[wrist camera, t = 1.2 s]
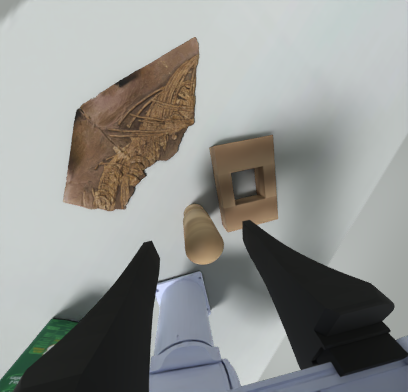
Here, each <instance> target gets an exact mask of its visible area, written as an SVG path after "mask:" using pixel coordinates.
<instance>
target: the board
mask: <svg viewBox="0 0 408 392" xmlns="http://www.w3.org/2000/svg"><path fill="white" fill-rule="evenodd" d="M209 149H210V155H211V160H212V166H213V172H214V178H215V184H216V189H217V195H218V201H219V207H220V213H221V219H222V224H223V226H224V228H225V229H226V231H227V232H231V231H235V230H239V229H242V221H246V220H251V221H252V222H253V223H255V224H256V225H257V224H261V223H265V222H269V221H272V220H276V219H278V210H277V194H276V177H275V161H274V144H273V135H269V136H264V137H259V138H253V139H248V140H243V141H238V142H232V143H227V144H222V145H216V146H213V147H210V148H209ZM252 168H254V172H255V182H256V193H257V195H253V196H249V197H244V198H240V199H236V200H235V199H234V192H233V185H232V178H231V173H233V172H238V171H243V170H247V169H252Z"/></svg>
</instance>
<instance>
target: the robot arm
mask: <svg viewBox="0 0 408 392" xmlns="http://www.w3.org/2000/svg"><path fill="white" fill-rule="evenodd" d="M242 229H243V242H244V244H245V246H246V249H247V251H248V253H249V255H250V257H251V259H252V260H253V262H254V264H255V266H256V268H257V269H258V271H259V273H260V275H261V277H262V278H263V280H264V282H265V284H266V287H267V289H268V291H269V293H270V296H271V298H272V300H273V302H274V305H275V307H276V309H277V312H278V314H279V317H280V319H281V321H282V324H283V326H284V329H285V331H286V334H287V336H288V339H289V341H290V344H291V346H292V349H293V352H294V354H295V357H296V359H297V362H298V364H299V367H300V369H301V370H300V371H296V372H292V373H289V374H285V375H281V376H278V377H274V378H270V379H267V380H263V381H259V382H256V383H252V384H248V385H245V386H241V385H240V381H239V378H238V376H237V373H236V371H235V369H234V368H233V366H232V365H231V364H230V362H229V361H228V360H227V359H221V356H220V351H219V347H214V343H213V338H212V333H211V328H210V322H209V317H208V315H210V314H211V311H210V306H209V302H208V298H207V294H206V290H205V285H204V281H203V277H202V273H201V272H200V271H198V272H195V273H191V274H188V275H185V276H181V277H178V278H174V279H171V280H168V281H164V282H161V283H158V277H159V268H160V257H159V255H158V253H157V251H156V249H155V247H154V244H153V242H152V241H149V242H144V243H143V245H142V246H141V247H140V249H139V250H138V252H137V253H136V255H135V256H134V258H133V259H132V261H131V262H130V263H129V265H128V266H127V268H126V269H125V270H124V272H123V273H122V274H121V276H120V277H119V278H118V280H117V281H116V282H115V283H114V285H113V286H112V287H111V288H110V289H109V291H108V292H107V293H106V294H105V295H104V296H103V297H102V299H101V300H100V301H99V302H98V303H97V304H96V305H95V306H94V307H93V308H92V309H91V310H90V311H89V312H88V313H87V314H86V316H85V317H84V318H83V319H82V320H81V321H80V322H79V323H78V324H76V325H75V326H74V327H73V328H72V329H71V330H70V331H69V332H68V333H67V334H66V335H65V336H64V337H63V338H62V339H61V340H60V341H58V342H57V343H56V344H55V345H54V346H53V347H52V348H51V349H49V350H48V351H47V352H46V353H45V354H44V355H43V356H41V357H40V358H39V359H38V360H37V361H36V362H35V363H33V364H32V365H31V366H30V367H29V368H27V369H26V371H25V372H24V374H23V375H22V377H21V379H20V380H19V382H18V384H17V385H16V387H15V388H14V390H13V392H408V336H404V337H402V338H399V339H397V340H395V339H394V338H393V337H392V336H391V335H390V334H389V332H390V329H389V328H388V327H387V326H386V325H385V324H384V323H383V322H382V321H383V320H384V319H385V318H386V317H387V316H388V315H389V314H390V313H391V312H392V311H393V310H394V303H393V302H392V301H391V300H390V299H388V298H387V297H386V296H385V295H384V294H383V293H381V292H380V291H379V290H378V289H377V288H376V287H375V286H373V285H372V284H371V283H368V282H365V281H363V280H360V279H358V278H355V277H352V276H349V275H347V274H344V273H341V272H339V271H337V270H334V269H331V268H329V267H327V266H325V265H323V264H320V263H318V262H316V261H314V260H312V259H310V258H308V257H306V256H304V255H302V254H300V253H298V252H296V251H295V250H293V249H291V248H289V247H288V246H286V245H284V244H283V243H281V242H280V241H278V240H277V239H275V238H274V237H272V236H271V235H269V234H268V233H267V232H265V231H264V230H263V229H261V228H260V227H259V226H257V225H256V224H255V223H253V222H252V221H251V220H246V221H242ZM156 289H158V290H156ZM155 295H156V298H157V301H158V303H159V306H160V310H159V318H158V326H157V334H156V341H155V349H154V356H152V357H151V363H150V345H151V329H152V316H153V307H154V300H155ZM149 370H150V371H149Z"/></svg>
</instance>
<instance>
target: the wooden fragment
mask: <svg viewBox="0 0 408 392" xmlns="http://www.w3.org/2000/svg"><path fill="white" fill-rule="evenodd" d="M198 59H199V45H198V42H197V39H196V37H194V38H192V39H190V40H189V41H187V42H185V43H184V44H182V45H180V46H178V47H176V48H175V49H173V50H171V51H170V52H168V53H166V54H165V55H163V56H161V57H160V58H158V59H157V60H155V61H153V62H152V63H150V64H148V65H146V66H145V67H143V68H141V69H139V70H137V71H135V72H133V73H132V74H130V75H129V76H127V77H125V78H123V79H122V80H120V81H119V82H117V83H115V84H114V85H112V86H110V87H109V88H108V89H106V90H105V91H103V92H101V93H100V94H98V96H96V98H93V99H92V98H91V99H90V100H89V101H87V102H86V103H84V104H83V105H82V106H81V107H80V108H81V111H80V108H79V109H77V112H76V116H75V121H74V127H73V135H72V142H71V151H70V158H69V165H68V172H67V175H68V176H67V177H66V178H67V182H66V187H65V192H64V199H63V202H65V203H69V204H74V205H78V206H82V207H85V208H88V209H97V208H100V209H104V210H107V211H113V210H115V209H126V204H127V203H128V201H129V198H130V197H131V196H132V194H133V191H134V187H135V186H136V185H137V184H138V183H139V182H140V181H141V179H143V178H144V177H145V176H146V175H145V173H144V172H143V170H144V169H146V168H147V167H150V166H151V165H153V164H154V163H155V162H156V160H158V161H159V160H164V161H167V160H168V159H170V158H171V157H172V156H173V155H174V154H175V153H176V152H177V149H178V145H179V144H180V142H181V138H182V137H183V133H185V131H186V129H187V128H188V126H191V125H193V124H194V116H195V113H194V107H195V95H194V92H195V87H196V66H197V64H198ZM82 111H83V112H84V114H83V112H82Z"/></svg>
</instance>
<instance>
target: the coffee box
mask: <svg viewBox="0 0 408 392" xmlns="http://www.w3.org/2000/svg"><path fill="white" fill-rule="evenodd" d="M76 324H78V322H72V321H68V320H58V319H53V318H52V319H51V320H50V321H49V322H48V323H47V325H46V326H45V327H44V328H43V329H42V331H41V332H40V333H39V334H38V335H37V337H36V338H35V339H34V340H33V342H32V343H31V344H30V345H29V346H28V348H27V349H26V350H25V351H24V352H23V354H22V355H21V356H20V357H19V358H18V360H17V361H16V362H15V363H14V364H13V366H12V367H11V368H10V369H9V370H8V371H7V373H6V374H5V375H4V376H3V377H2V378H1V380H0V392H13V390H14V388H15V387H16V385H17V384H18V382H19V380H20V379H21V377H22V375H23V374H24V372H25V371H26V369H27V368H29V367H30V366H31V365H32V364H33V363H35V362H36V361H37V360H38V359H39V358H40V357H41V356H43V355H44V354H45V353H46V352H47V351H48V350H49V349H51V348H52V347H53V346H54V345H55V344H56V343H57V342H58V341H60V340H61V339H62V338H63V337H64V336H65V335H66V334H67V333H68V332H69V331H70V330H71V329H72V328H73V327H74V326H75V325H76Z"/></svg>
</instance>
